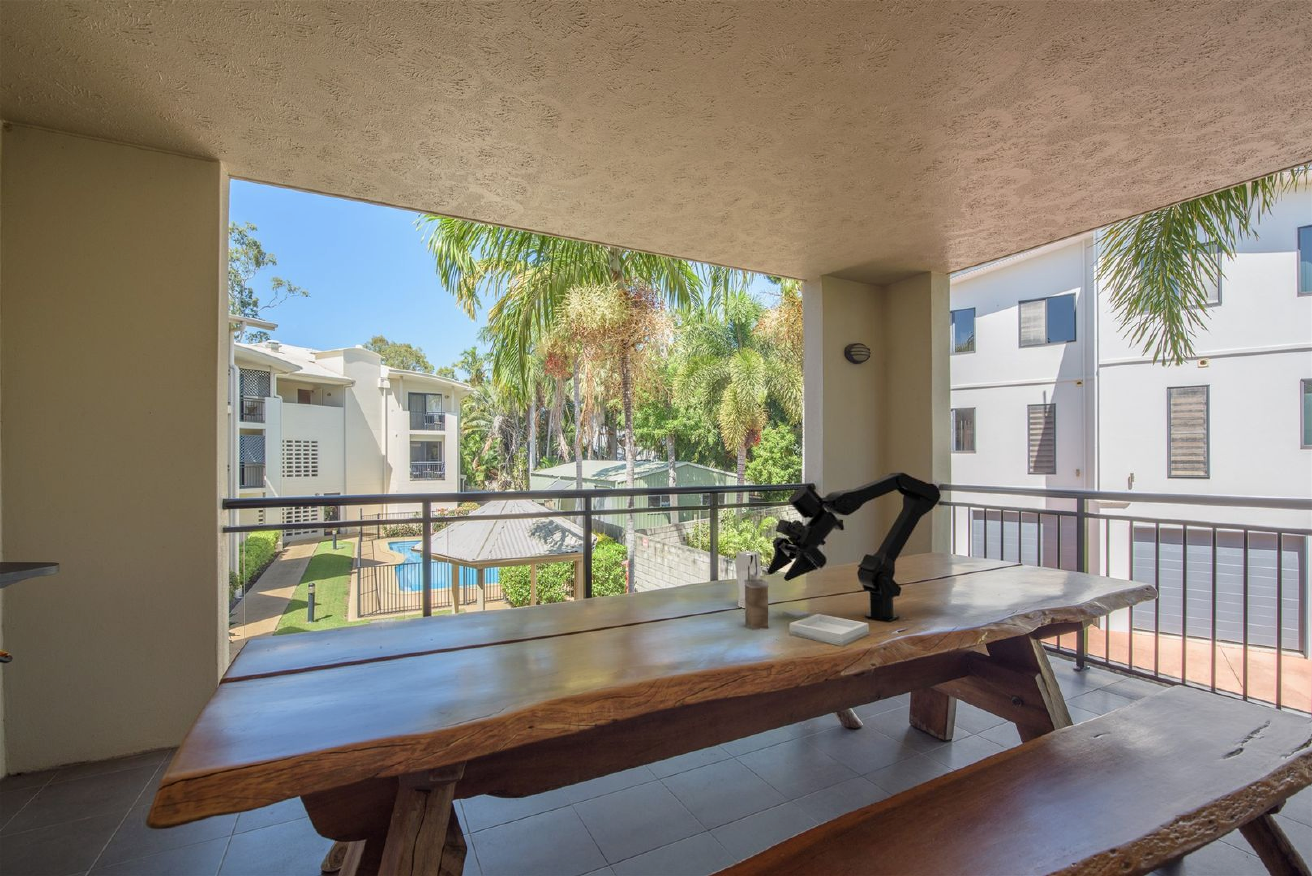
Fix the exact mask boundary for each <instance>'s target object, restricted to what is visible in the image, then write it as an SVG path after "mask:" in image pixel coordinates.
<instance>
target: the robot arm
mask: <svg viewBox="0 0 1312 876" xmlns="http://www.w3.org/2000/svg"><path fill="white" fill-rule="evenodd" d="M895 491H897V493H898V494H900V495H902V497H903V498H902V509H901V511H900V513H899V514H898V516H897V518H896V519H895V522H894V523H893V524H892V526H891V527H890V529H889V531H888V533H887V535H886V537H885V538H884V540H883V541H882V543H881V545H880V546H879V548H878V550H877V552H875V553H874V554H868V553H866V554H865V555H864V556H863V558H862V561H861V562H860V564H858V565H857V568H858V570H857V573H856V575H857V577H858V582H860V584H861V586H862V589H863V591H865V592H869V613H867V614H865V615H864V618H868V619H873V620H878V621H884V622H885V621H886V622H891V621H894V620H896V619H898V618H900V615H899V614H895V607H894V598H895V597H899V596H900V595H901V591H902V587H901V586H900V585H899V584H898V583H897V582H896V581H895V579H894V576H895V575H896V566H895V565H896V561H897V559H898V558H899V556H900V554H901V552H902V550H903V549H904V547H905V545H906V544H907V541H908V540H909V539H910V537H911V535H912V533H913V531H914V530H915V528H916V526H917V524H918V523H919V521H920V519H921V518H922V517H923V516H925V515H926V514H927V513H929V512H930V511H932V510H933V509H934V508H935V506H936V505H937V504H938V503H939V502H940V500H941V497H942V496H941V495H942V494H941V493H940V489H939V488H938V485H936V484H934V483H929V482H926V481H924V480H921V479H918V478H915V477H912V476H911V475H909V474H907V473H905V472H901V471H900V472H890V473H889V474H888V475H886V476H885V475H884V476H883V477H880V478H878V479H875V480H872V481H870V482H867V483H866V484H863V485H860V486H858V487H855V488H850V489H845V490H843V489H842V490H837V491H832V492H829V493H828V494H827V495H826V496H825V497H821V496H820V495H819V494H818V493H817V491H815V489H814V488H813V486H811V484H805V485H803V487H801V488H798V489H797V490H796V491H794V492H792V494H790V496H789V497H788V503H789V504H790V505H792V507H793V509H795V510H796V512H798V513H799V515H800V516H801V517H803V518H804V519H807V518H809V521H808V522H807V523H806V524H805V525H804V523H803V522H802V521H800V520H797V519H794V520H793V521H792V522H791V521H789V520H785V519H779V522H778V523H777V526H776V529H775V530H774V531H775V532H777V533H780V534H781V535H785V536H787V538H786V537H782V536H776V537H775V538H774V540H773V541H772V547H773V549H774V555H773V557H772V560H771V562H770V564H769V567H768V568H767V571H766V572H767V574H769V575H773V574H774V573H776V572H777V571H780V570H781V569H783V568H784V567H786V566H788V565H790V564H791V563H792V562H793V563H792V564H791V566H789V569H788V570H787V571H786V573H785V574H784V577H783V579H784V580H785V582H788V581H791V580H793V579H796V578H799V577H800V576H802V575H806V574H808V573H810V572H813V571H817V570H818V569H823V568H824V567H825V566H826V564H827V556H826V555H824V554H823V552H822V551H821V550H820V549H819V546H825V545H826V543H827V542H826V539H827V538H828V536H829V535H830V533H832V531H833V530H837V531H844V530H845V526H844V520H843V519H840V518H838V517H837V516H836V515H839V516H849V515H850V516H851V514H854V513H855V512H857V511H858V510H860V508H861V507H862V506H863V505H864V504H866V503H867V502H869V501H872V500H875V499H877V498H879V497H881V496H884V495H887V494H890V493H891V492H895ZM794 559H795V560H794ZM793 560H794V561H793Z"/></svg>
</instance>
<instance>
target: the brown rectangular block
mask: <svg viewBox="0 0 1312 876" xmlns="http://www.w3.org/2000/svg"><path fill="white" fill-rule="evenodd" d="M744 585H745V610H744V614H745V615H744V618H745V619H744V620H745V621H744V622H745V626H746V627H748V626H749V627H750V628H749V627H748V628H749V629H751V630H761V629H760V628H765V629H769V581H766V580H764V579H762V578H760V579H751V580H744Z"/></svg>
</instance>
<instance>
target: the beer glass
mask: <svg viewBox="0 0 1312 876" xmlns="http://www.w3.org/2000/svg"><path fill="white" fill-rule="evenodd" d="M761 566H762V564H761V553H760V552H758V551H749V550H748V551H745V550H744V551H737V552H736V558H735V575H736V583H737V587H738V601H737V607H738V606H740V607H742V608H741V609H743V608H745V585H744V580H751V579H761V572H762V570H761V569H762V567H761ZM740 607H739V608H740Z"/></svg>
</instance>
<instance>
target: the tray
mask: <svg viewBox="0 0 1312 876" xmlns="http://www.w3.org/2000/svg"><path fill="white" fill-rule="evenodd" d="M788 625H789V626H788V627H789V632H788V633H789V635H790V636H794V635H795V636H794V637H798V638H799V637H800V638H804V639H807V640H808V639H809V640H813V641H816V642H821V643H825V644H829V645H834V646H837V647H838V646H840V647H843V646H846V645H848V644H850V643H853V642H855V641H857V640H859V639H862V638H864V637H866V636H869V635H870V633H869V630H870V629H869V627H870V626H869V623H867V622H862V621H857V620H851V619H846V618H842V617H837V616H831V615H825V614H820V613H816V614H814V615H811V616H808V617H803V618H800V619H799V620H796V621H792V622H790V623H789V624H788Z"/></svg>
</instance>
